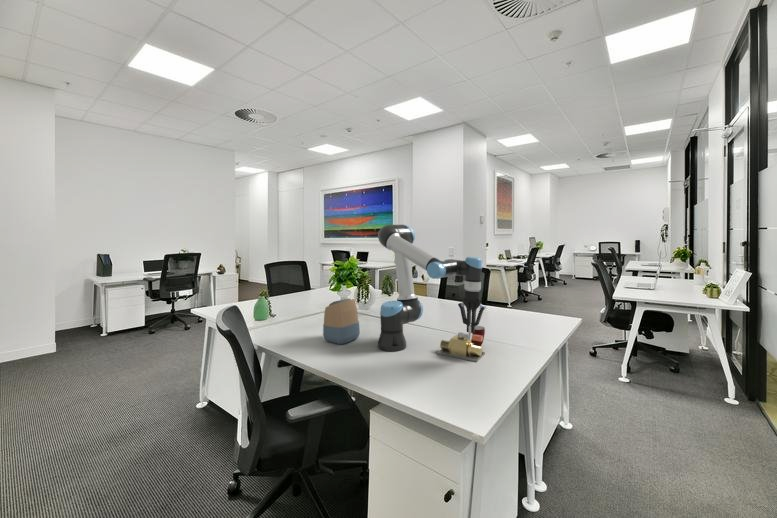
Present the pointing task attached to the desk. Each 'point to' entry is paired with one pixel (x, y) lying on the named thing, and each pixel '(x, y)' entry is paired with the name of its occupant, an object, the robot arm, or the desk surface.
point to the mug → (478, 331)
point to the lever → (474, 337)
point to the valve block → (460, 349)
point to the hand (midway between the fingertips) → (470, 339)
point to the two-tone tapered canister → (341, 322)
